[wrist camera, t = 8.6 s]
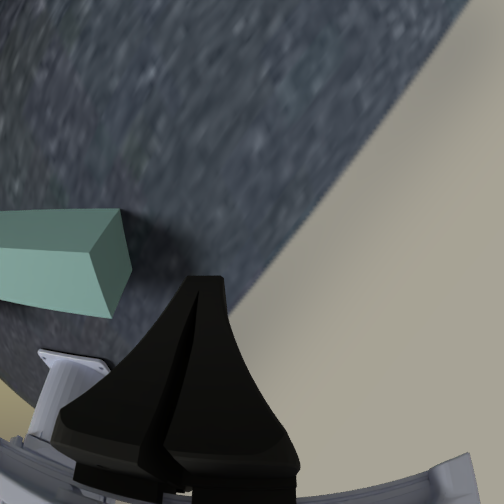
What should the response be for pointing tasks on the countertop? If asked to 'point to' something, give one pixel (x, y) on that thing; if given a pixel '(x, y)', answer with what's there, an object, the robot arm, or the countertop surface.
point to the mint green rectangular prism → (64, 259)
